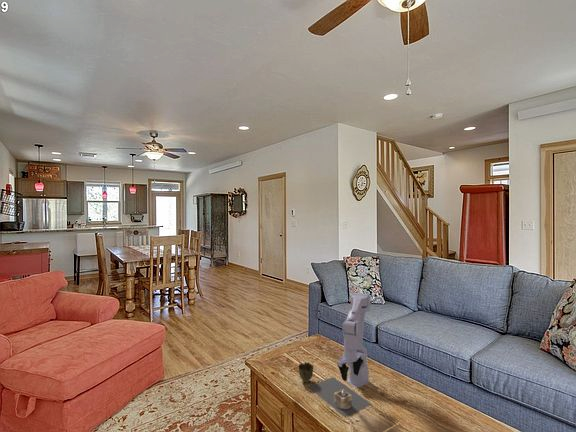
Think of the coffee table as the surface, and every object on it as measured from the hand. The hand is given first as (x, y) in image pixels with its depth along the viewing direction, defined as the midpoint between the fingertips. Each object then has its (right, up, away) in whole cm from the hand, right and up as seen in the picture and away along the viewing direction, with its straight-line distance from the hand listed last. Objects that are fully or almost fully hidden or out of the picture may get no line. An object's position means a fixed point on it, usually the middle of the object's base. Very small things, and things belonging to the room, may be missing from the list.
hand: (350, 377), depth 137 cm
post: (-4, -10, -5) cm, 11 cm away
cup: (-19, -10, +14) cm, 26 cm away
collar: (-4, -9, -5) cm, 11 cm away
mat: (-5, -10, +2) cm, 11 cm away
